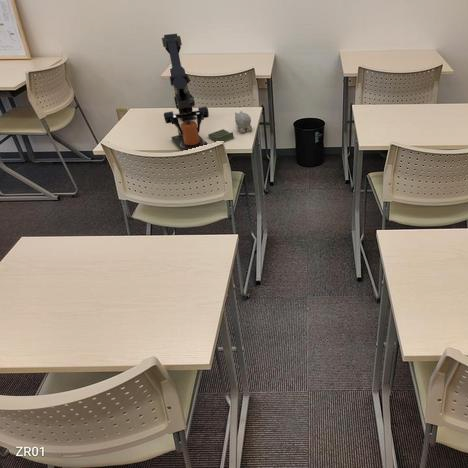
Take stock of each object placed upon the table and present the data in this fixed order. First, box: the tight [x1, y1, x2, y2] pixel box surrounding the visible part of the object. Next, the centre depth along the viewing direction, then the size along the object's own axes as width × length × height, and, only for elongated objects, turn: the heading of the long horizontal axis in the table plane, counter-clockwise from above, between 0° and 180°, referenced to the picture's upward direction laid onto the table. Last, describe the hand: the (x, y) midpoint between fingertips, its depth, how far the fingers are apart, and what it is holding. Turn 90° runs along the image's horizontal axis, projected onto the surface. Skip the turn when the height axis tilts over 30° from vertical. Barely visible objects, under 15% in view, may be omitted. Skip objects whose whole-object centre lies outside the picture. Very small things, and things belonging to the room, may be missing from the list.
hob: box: [171, 134, 209, 152], centre depth 215 cm, size 20×11×2 cm, turn 32°
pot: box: [180, 120, 200, 145], centre depth 209 cm, size 7×7×9 cm
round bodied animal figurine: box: [234, 111, 253, 134], centre depth 225 cm, size 7×12×8 cm, turn 25°
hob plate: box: [180, 137, 206, 149], centre depth 212 cm, size 11×11×1 cm
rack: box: [207, 128, 235, 143], centre depth 219 cm, size 9×8×3 cm
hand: (190, 133), depth 208 cm, fingers closed on pot, 7 cm apart
